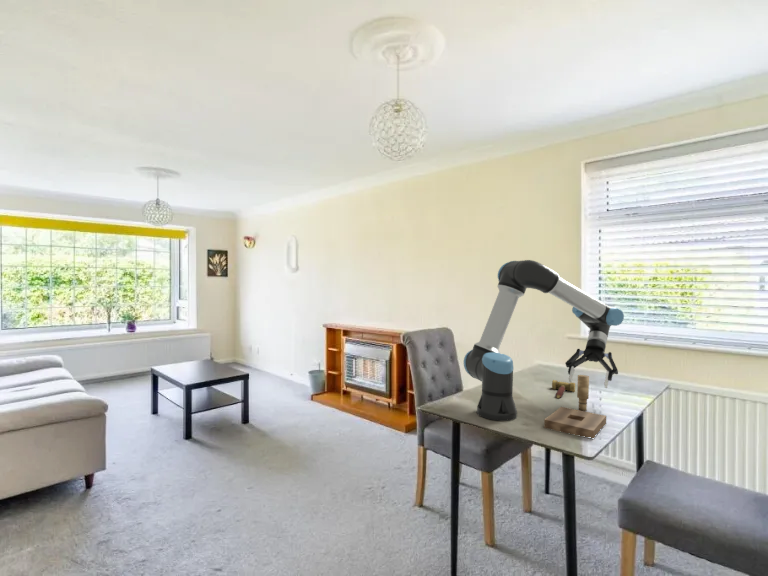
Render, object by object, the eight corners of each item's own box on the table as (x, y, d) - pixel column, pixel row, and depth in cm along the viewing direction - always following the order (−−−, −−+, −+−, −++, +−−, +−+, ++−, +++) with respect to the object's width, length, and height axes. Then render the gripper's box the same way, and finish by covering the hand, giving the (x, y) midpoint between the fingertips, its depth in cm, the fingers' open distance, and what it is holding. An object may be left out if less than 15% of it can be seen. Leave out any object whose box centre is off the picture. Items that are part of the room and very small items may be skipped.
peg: (575, 409, 165) (576, 376, 164) (578, 407, 168) (579, 374, 168) (586, 412, 162) (587, 377, 162) (589, 409, 165) (590, 376, 165)
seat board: (544, 427, 144) (544, 419, 144) (561, 414, 159) (561, 406, 159) (593, 439, 133) (593, 430, 133) (606, 423, 149) (606, 415, 149)
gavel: (569, 394, 177) (546, 390, 183) (569, 404, 178) (545, 400, 183) (575, 381, 195) (553, 378, 200) (575, 391, 195) (553, 387, 201)
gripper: (629, 352, 172) (622, 393, 161) (568, 345, 188) (557, 383, 177) (627, 341, 168) (620, 383, 157) (565, 335, 184) (554, 373, 173)
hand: (587, 383), depth 167 cm, fingers open, 13 cm apart
